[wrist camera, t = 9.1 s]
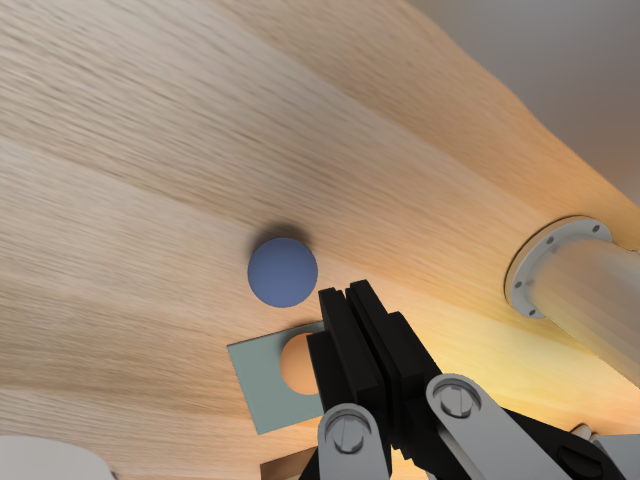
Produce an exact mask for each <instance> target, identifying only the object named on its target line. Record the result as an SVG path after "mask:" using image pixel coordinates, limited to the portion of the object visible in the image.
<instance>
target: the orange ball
mask: <svg viewBox="0 0 640 480" xmlns="http://www.w3.org/2000/svg"><path fill="white" fill-rule="evenodd" d="M310 334H313V333H303V334H299V335H297V336H295V337H294V338H292V339H291V340H290V341H289V342H288V343H287V344H286V345H285V347H284V349H283V351H282V353H281V356H280V372H281V375H282V378H283V380H284V381H285V383H286V384H287V385H288V386H289V387H290V388H291V389H292V390H294V391H295V392H297V393H300V394H304V395H313V394H317V393H319V391H318V387H317V383H316V379H315V375H314V371H313V367H312V362H311V358H310V354H309V349H308V344H307V339H306V335H310Z"/></svg>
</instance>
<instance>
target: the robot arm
mask: <svg viewBox="0 0 640 480" xmlns="http://www.w3.org/2000/svg"><path fill="white" fill-rule="evenodd" d="M345 293H346V299H345V296H344V294H343V292H342V290H338V291H336V290H335V288H334V287H332V288H328V289H324V290H320V291H318V294H319V300H320V306H321V312H322V318H323V324H324V330H325V331H321V332H317V333H313V334H310V335H306V339H307V344H308V349H309V354H310V358H311V362H312V367H313V371H314V375H315V379H316V383H317V387H318V391H319V395H320V399H321V403H322V407H323V411H324V416H323V417H322V419H321V421H320V423H319V426H318V435H317V437H318V447H317V448H316V450H315V452H314V453H313V455H312V457H311V458H310V460H309V462H308V464H307V465H306V467H305V469H304V470H303V472H302V474H301V475H300V477H299V479H298V480H390V477H391V475H392V458H391V445H392V447H393V449H394V450H397V449H400V450H401V452H402V455H403V457H404V459H405V460H407V459H410V458H412V460H413V462H414V465H415V466H417V467H419V468H421V469H423V470H425V472H426V474H427V476H428V478H429V480H640V434H628V435H609V436H595V439H594V440H591V441H588V440H586V439H584V438H581V437H579V436H577V435H575V434H572V433H569V432H567V431H564V430H561V429H559V428H556V427H553V426H551V425H548V424H545V423H543V422H540V421H537V420H535V419H532V418H529V417H527V416H524V415H521V414H519V413H516V412H513V411H511V410H508V409H505V408H503V407H500V406H499V405H498V404H497V403H496V402H495V401H494V400H493V399H492V398H491V397H490V396H489V395H488V394H487V393H486V392H485V391H484V390H483V389H482V388H481V387H480V386H479V385H478V384H476V383H475V382H474V381H473V380H471V379H469V378H467V377H465V376H462V375H458V374H454V373H453V374H443V373H442V372H441V370H440V369H439V368H438V366H437V365H436V363H435V362H434V360H433V359H432V357H431V356H430V354H429V353H428V351H427V350H426V349H425V347H424V346H423V344H422V343H421V341H420V340H419V338H418V337H417V335H416V334H415V332H414V331H413V330H412V328H411V327H410V325H409V324H408V322H407V321H406V319H405V318H404V316H403V315H402V314H401V313H400V312H399V311H397V312H393V313H389V314H388V313H387V311H386V309H385V308H384V306H383V305H382V303H381V302H380V300H379V298H378V297H377V295H376V294H375V292H374V290H373V289H372V287H371V286H370V284H369V282H368V281H367V280H366V279H365V280H361V281H357V282H353V283H350V288H346V289H345ZM505 295H506V299H507V301H508V303H509V305H510V306H511V307H512V308H513V309H514V310H515V311H516V312H518V313H519V314H521V315H522V316H525V317H527V318H544V317H547V318H549V319H550V320H551V321H553V322H554V323H555V324H556V325H558V326H559V327H560V328H562V329H563V330H564V331H565V332H567V333H568V334H569V335H571V336H572V337H573V338H575V339H576V340H577V341H578V342H580V343H581V344H582V345H584V346H585V347H586V348H587V349H589V350H590V351H591V352H593V353H594V354H595V355H597V356H598V357H599V358H600V359H602V360H603V361H604V362H606V363H607V364H608V365H609V366H611V367H612V368H613V369H615V370H616V371H617V372H619V373H620V374H621V375H622V376H624V377H625V378H626V379H628V380H629V381H630V382H631V383H633V384H634V385H635V386H637V387H638V388H639V389H640V249H636V250H633V251H629V250H627V249H624V248H622V247H620V246H618V245H615V244H613V240H612V235H611V232H610V230H609V229H608V227H607V226H606V225H605V224H603V223H602V222H600V221H598V220H595V219H593V218H590V217H585V216H574V217H570V218H565V219H563V220H560V221H558V222H555V223H553V224H551V225H550V226H548V227H546V228H545V229H543V230H542V231H541V232H539V233H538V234H537V235H535V236H534V237H533V238H532V239H531V240H530V241H529V242H528V243H527V244H526V245H525V246H524V247H523V249H522V250H521V251H520V252H519V254H518V255H517V256H516V258H515V260H514V262H513V263H512V265H511V267H510V270H509V272H508V275H507V279H506V283H505Z"/></svg>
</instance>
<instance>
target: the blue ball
mask: <svg viewBox="0 0 640 480" xmlns="http://www.w3.org/2000/svg"><path fill="white" fill-rule="evenodd" d="M317 276H318V268H317V263H316V260H315V257H314V255H313V254H312V252H311V251H310V250H309V249H308V248H307V247H306V246H305V245H304V244H303V243H301V242H299V241H297V240H295V239H291V238H275V239H271V240H269V241H267V242H265V243H263V244H262V245H261V246H260V247H258V248H257V250H256V251H255V252H254V253H253V255H252V257H251V259H250V262H249V265H248V281H249V284H250V287H251V289H252V291H253V292H254V294H255V295H256V296H257V297H258V298H259V299H260V300H261V301H262V302H264V303H266V304H268V305H270V306H273V307H279V308H285V307H291V306H294V305H297V304H299V303H301V302H302V301H304V300H305V299H306V298H307V297H308V296H309V295H310V294H311V292H312V291H313V289H314V287H315V285H316V282H317Z"/></svg>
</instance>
